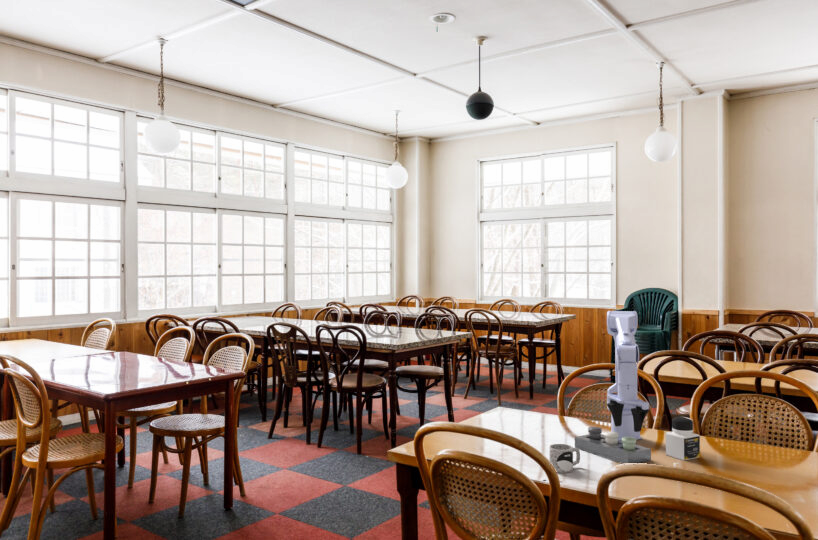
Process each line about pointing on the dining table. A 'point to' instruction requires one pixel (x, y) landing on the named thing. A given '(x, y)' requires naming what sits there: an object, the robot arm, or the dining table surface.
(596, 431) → the grey rounded knob
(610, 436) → the ivory key
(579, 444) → the key console
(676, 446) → the medicine bottle
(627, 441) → the sage key
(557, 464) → the mug
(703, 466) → the dining table surface
